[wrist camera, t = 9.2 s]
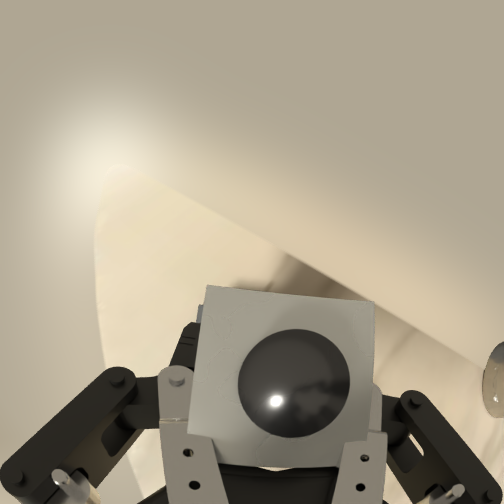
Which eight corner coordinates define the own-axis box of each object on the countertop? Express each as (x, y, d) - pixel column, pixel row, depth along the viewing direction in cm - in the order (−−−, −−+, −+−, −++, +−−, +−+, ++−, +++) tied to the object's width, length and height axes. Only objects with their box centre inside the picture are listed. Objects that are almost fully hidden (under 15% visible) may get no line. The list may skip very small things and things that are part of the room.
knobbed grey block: (299, 344, 16) (391, 290, 6) (292, 417, 15) (380, 472, 5) (223, 336, 16) (202, 270, 6) (214, 410, 15) (176, 469, 5)
